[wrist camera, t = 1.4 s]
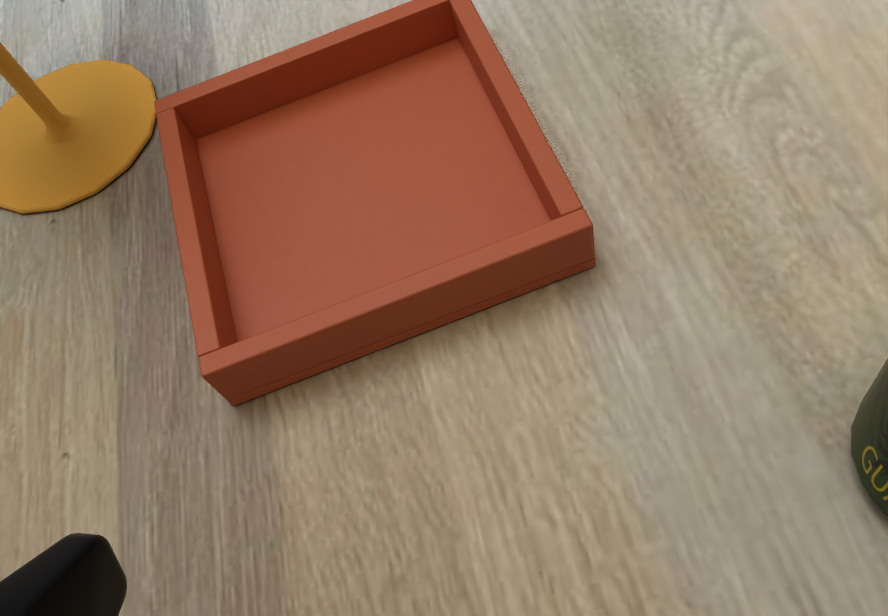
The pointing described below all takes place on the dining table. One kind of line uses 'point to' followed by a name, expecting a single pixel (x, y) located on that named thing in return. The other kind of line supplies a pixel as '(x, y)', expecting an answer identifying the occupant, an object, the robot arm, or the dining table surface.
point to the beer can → (873, 440)
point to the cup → (70, 131)
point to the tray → (360, 196)
